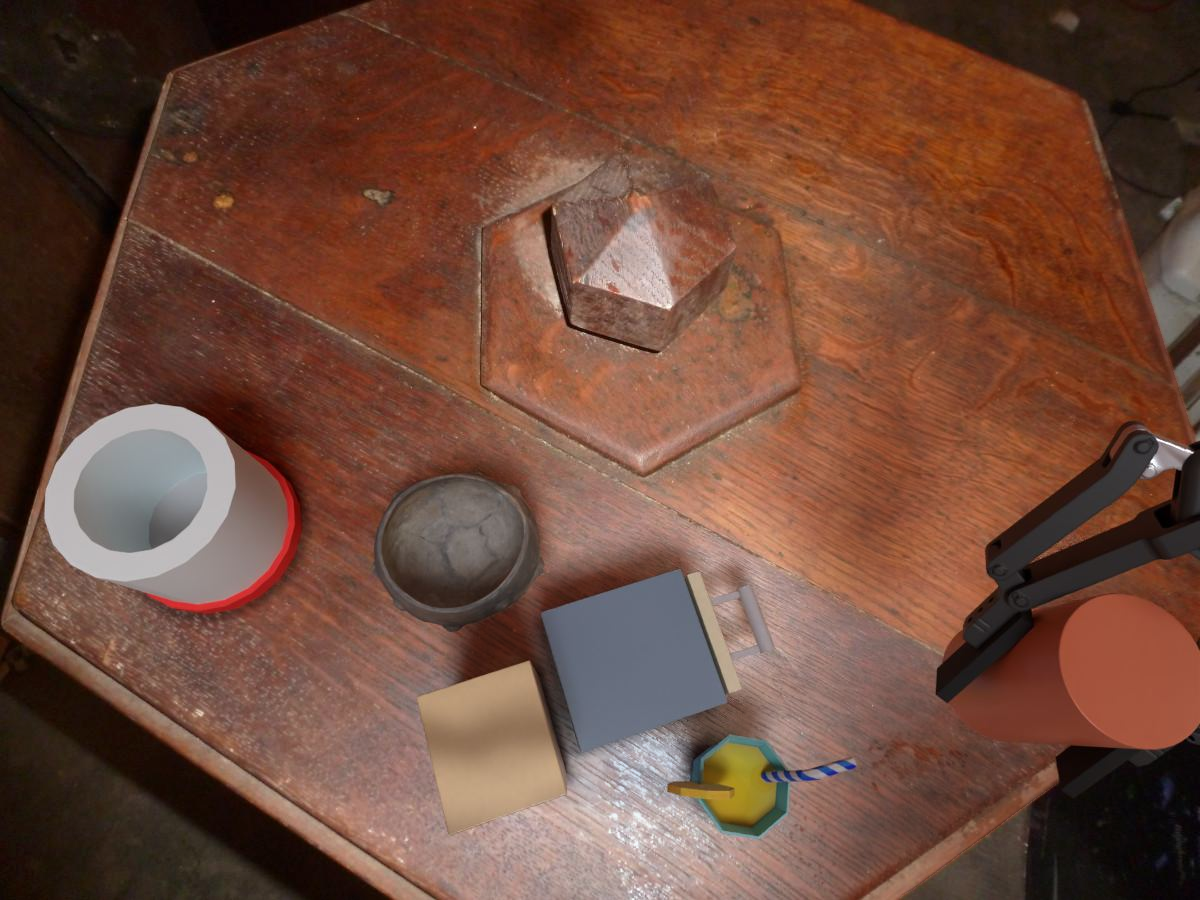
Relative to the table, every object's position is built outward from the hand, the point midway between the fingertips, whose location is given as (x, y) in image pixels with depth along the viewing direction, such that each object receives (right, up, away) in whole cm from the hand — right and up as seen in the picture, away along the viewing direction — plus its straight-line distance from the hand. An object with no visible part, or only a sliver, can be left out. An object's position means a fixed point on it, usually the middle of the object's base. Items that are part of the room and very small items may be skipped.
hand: (1002, 730), depth 43 cm
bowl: (-36, +5, +33) cm, 49 cm away
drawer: (-15, -3, +30) cm, 34 cm away
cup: (-11, -14, +28) cm, 33 cm away
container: (-60, +8, +33) cm, 69 cm away
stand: (-30, -11, +28) cm, 43 cm away
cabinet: (-20, -5, +30) cm, 37 cm away
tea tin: (+2, +1, +4) cm, 5 cm away
